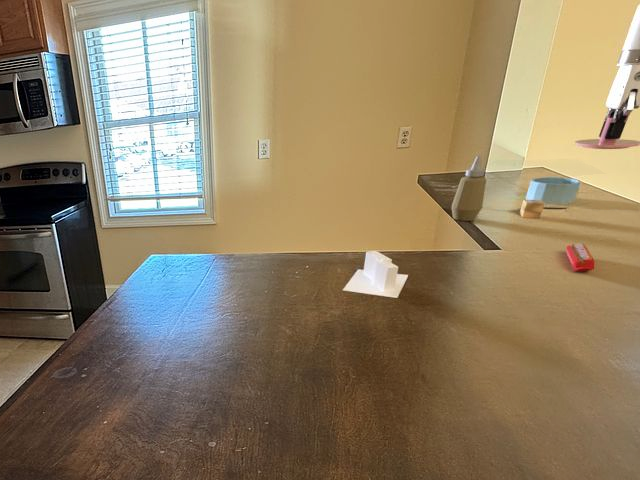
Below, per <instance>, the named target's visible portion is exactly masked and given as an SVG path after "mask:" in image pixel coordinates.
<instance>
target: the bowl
mask: <svg viewBox="0 0 640 480" xmlns="http://www.w3.org/2000/svg"><path fill="white" fill-rule="evenodd" d="M582 182H583V181H582V180H580V179H577V178H573V177H572V178H569V177H559V176H543V177H535V178H532V179H530V183H529V186H528V189H527V193H526V195H525V200H542V201H543V202H544V205H569V204H574V203H575V202H576V199H577V196H578V193H579V191H580V188H581V186H582ZM567 208H568V207H556V206H555V207H550V206H549V207H547V206H543V209H542V210H566V209H567ZM567 210H568V209H567Z"/></svg>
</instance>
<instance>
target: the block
mask: <svg viewBox="0 0 640 480" xmlns="http://www.w3.org/2000/svg"><path fill="white" fill-rule="evenodd" d="M543 207H545V204H544V202H543V201H542V200H526V199H523V200H522V204H521V207H520V210H519V216H520V217H521V218H523V219H541V216H542V213H543V210H544V209H543Z"/></svg>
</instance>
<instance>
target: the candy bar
mask: <svg viewBox="0 0 640 480" xmlns="http://www.w3.org/2000/svg"><path fill="white" fill-rule="evenodd" d="M565 251H566V253H565V254H566V256H567V259H568V261H569V263H570V264H571V268H572V269H573V271H574V272H578V273H579V272H585V271H594V270H595V260H594V257H593V256H592V254H591V252H590V251H589V249H588V247H587V246H586V244H585V243H574V244H573V243H572V244H569V245H567V246H566V249H565Z"/></svg>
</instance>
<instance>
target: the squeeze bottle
mask: <svg viewBox="0 0 640 480" xmlns="http://www.w3.org/2000/svg"><path fill="white" fill-rule="evenodd" d="M485 171H486V170H485V169H484V168H482V155H477V156H476V157H475V159H474V161H473V163H472V166H471V168H468V169H466V170H465V176H463V177H462V178H461V179H460V181H459V182H458V183H459V184H458V186H457V189H456V192H455V195H454V197H453V201H452V204H451V214H452V219H453V220H456V221H461V222H469V221H470V222H471V221H474V220H476V218H477V217H478V215H479V214H480V212H481V210H482V208H483V204H484V197H485V192H486V191H485V190H486V184H487V178H486V177H485V176H484V175H485Z"/></svg>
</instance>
